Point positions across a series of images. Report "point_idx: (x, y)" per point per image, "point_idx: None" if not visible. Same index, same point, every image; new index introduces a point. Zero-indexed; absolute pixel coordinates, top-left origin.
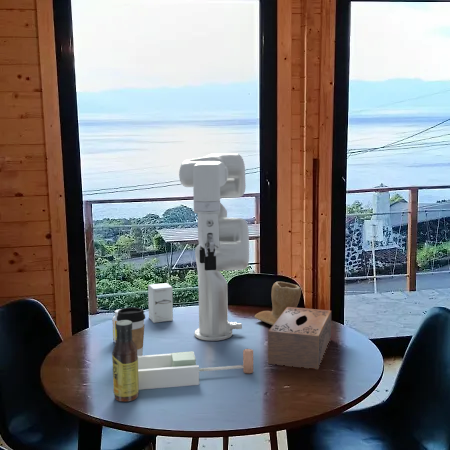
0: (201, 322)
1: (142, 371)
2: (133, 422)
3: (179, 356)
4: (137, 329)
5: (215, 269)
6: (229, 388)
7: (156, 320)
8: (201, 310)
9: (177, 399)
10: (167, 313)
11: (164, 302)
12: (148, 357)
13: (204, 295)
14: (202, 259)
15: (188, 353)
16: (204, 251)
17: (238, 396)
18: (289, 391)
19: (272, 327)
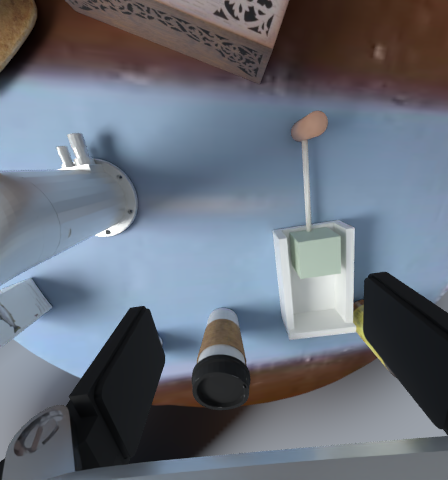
0: (104, 229)
1: (352, 311)
2: (435, 295)
3: (320, 264)
4: (241, 351)
5: (382, 274)
6: (362, 169)
7: (47, 305)
8: (87, 238)
9: (383, 248)
10: (24, 294)
11: (5, 313)
12: (292, 308)
13: (65, 244)
14: (156, 368)
15: (307, 250)
16: (125, 421)
17: (398, 154)
18: (403, 48)
19: (238, 30)
